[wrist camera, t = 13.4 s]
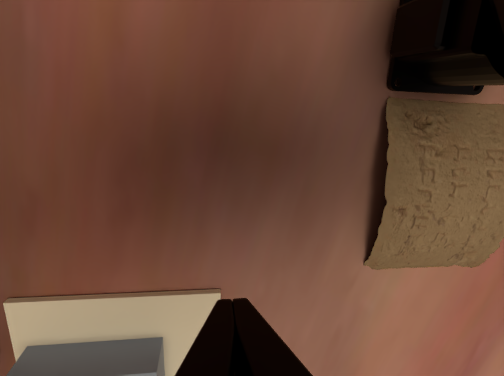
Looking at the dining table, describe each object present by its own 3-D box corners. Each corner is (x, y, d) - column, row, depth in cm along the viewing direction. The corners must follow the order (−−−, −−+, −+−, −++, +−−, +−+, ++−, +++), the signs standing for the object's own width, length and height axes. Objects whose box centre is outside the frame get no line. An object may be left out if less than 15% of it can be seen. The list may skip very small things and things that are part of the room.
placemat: (220, 288, 23) (220, 293, 22) (217, 420, 26) (218, 426, 26) (7, 298, 21) (3, 303, 20) (38, 439, 24) (34, 446, 24)
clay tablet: (469, 268, 26) (498, 287, 24) (355, 277, 25) (372, 298, 22) (512, 86, 22) (552, 85, 19) (377, 85, 21) (401, 84, 18)
